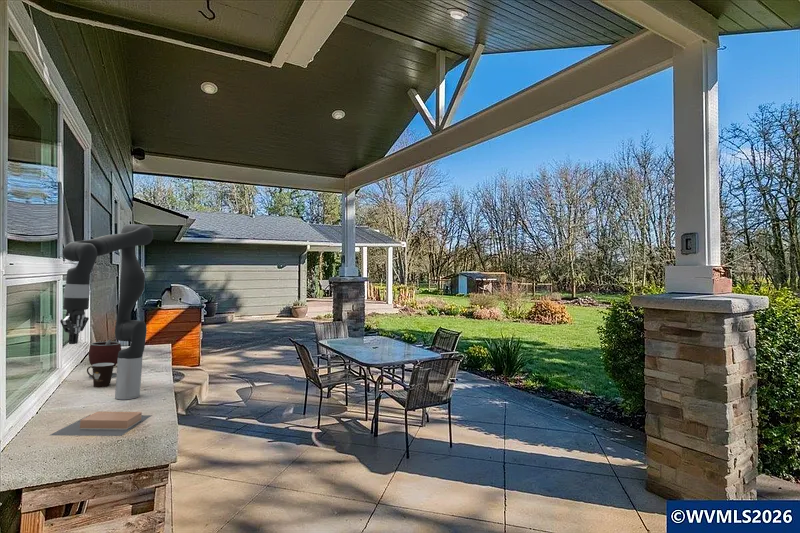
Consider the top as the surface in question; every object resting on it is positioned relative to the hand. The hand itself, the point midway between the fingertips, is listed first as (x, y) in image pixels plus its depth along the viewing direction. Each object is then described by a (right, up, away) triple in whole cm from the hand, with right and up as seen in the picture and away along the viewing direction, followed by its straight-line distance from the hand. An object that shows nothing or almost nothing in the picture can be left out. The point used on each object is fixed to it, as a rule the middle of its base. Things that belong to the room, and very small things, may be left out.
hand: (73, 343), depth 159 cm
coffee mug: (-22, -28, +47) cm, 59 cm away
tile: (+11, -25, -8) cm, 29 cm away
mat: (+17, -28, -7) cm, 33 cm away
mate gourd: (-32, -29, +64) cm, 77 cm away
